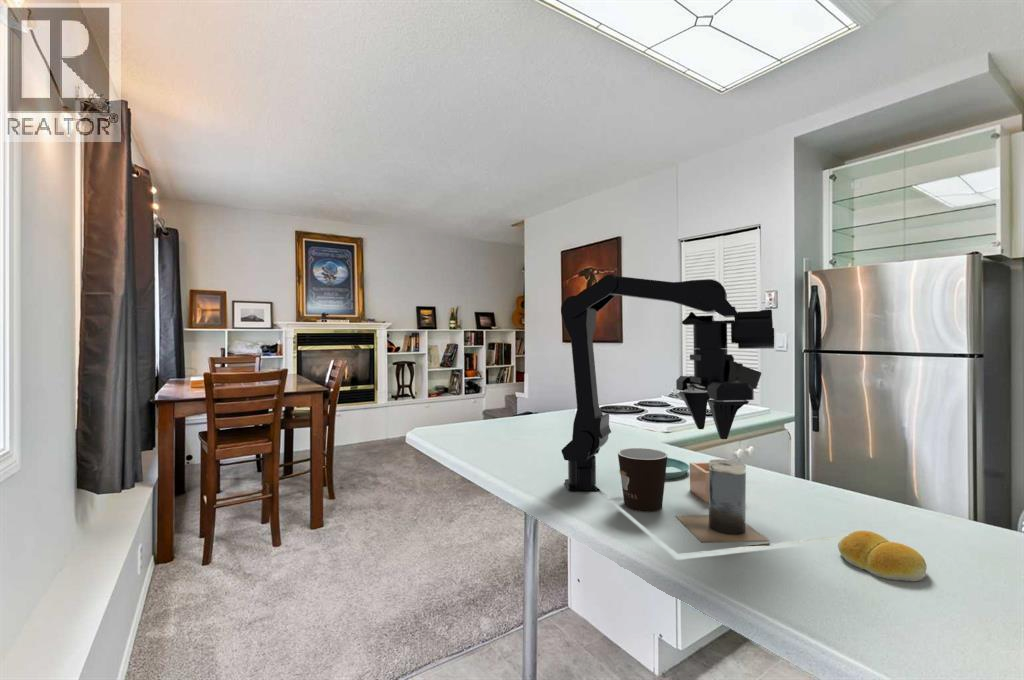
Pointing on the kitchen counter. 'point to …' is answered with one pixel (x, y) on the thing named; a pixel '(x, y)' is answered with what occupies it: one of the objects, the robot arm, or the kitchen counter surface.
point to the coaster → (706, 534)
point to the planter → (700, 480)
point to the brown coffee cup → (642, 478)
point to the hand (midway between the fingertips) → (711, 433)
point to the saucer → (678, 465)
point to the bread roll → (882, 556)
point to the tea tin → (727, 496)
